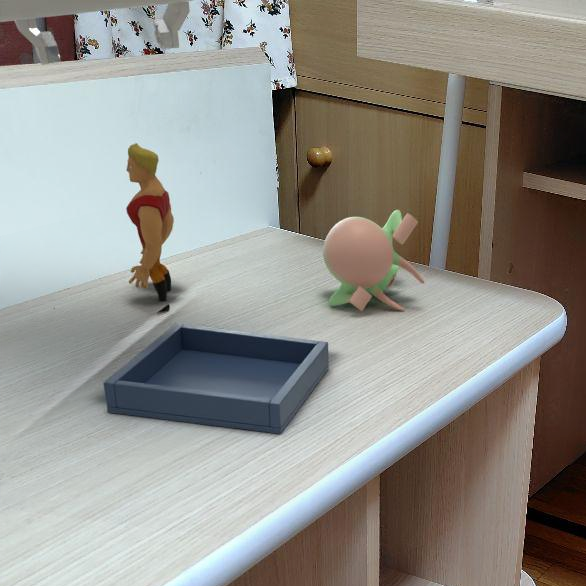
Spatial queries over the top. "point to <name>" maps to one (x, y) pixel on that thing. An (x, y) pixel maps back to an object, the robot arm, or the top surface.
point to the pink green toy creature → (366, 258)
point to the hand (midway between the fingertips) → (109, 51)
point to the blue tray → (219, 378)
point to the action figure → (150, 220)
